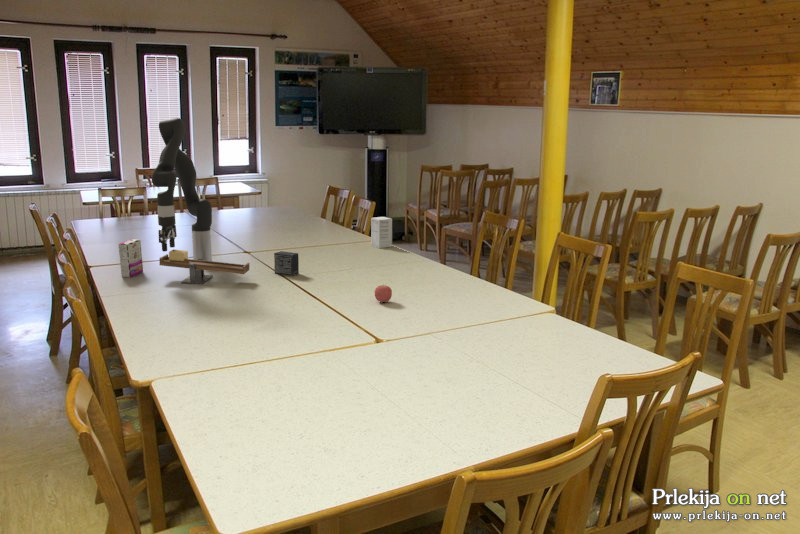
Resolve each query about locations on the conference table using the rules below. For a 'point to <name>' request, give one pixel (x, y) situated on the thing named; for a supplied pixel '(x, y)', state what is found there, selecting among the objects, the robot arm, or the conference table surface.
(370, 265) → the conference table surface
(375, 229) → the supplement box
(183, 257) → the wooden block
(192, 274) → the pivot stand
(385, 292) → the apple
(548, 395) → the conference table surface
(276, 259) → the small box
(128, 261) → the candy bar box
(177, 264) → the beam
